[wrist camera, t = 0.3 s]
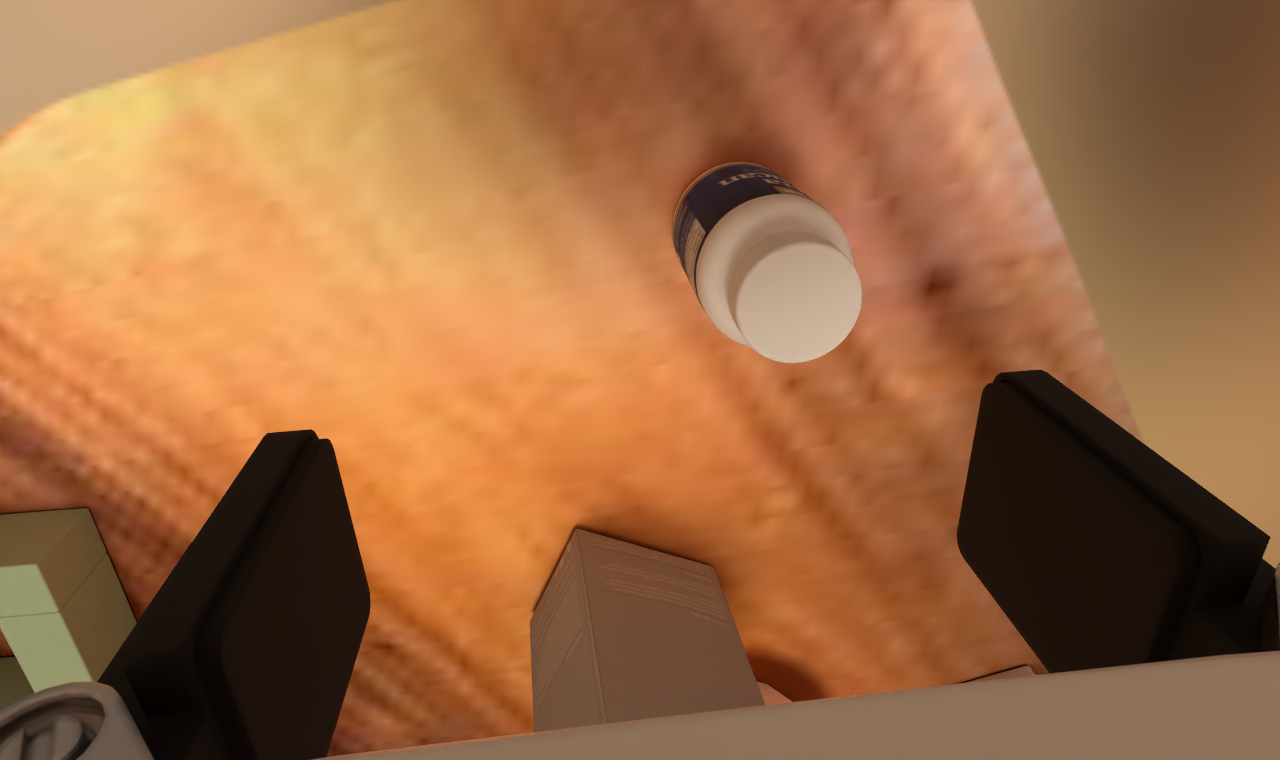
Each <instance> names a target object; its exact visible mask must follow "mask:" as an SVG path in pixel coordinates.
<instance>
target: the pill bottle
mask: <svg viewBox="0 0 1280 760" xmlns="http://www.w3.org/2000/svg"><path fill="white" fill-rule="evenodd" d="M672 236H673V243H674V247H675V250H676V253H677V256H678V258H679V261H680V263H681V265H682V267H683V269H684V271H685V273H686V275H687V277H688V279H689V281H690V283H691V286H692V288H693V290H694V292H695V294H696V296H697V298H698V300H699V302H700V304H701V306H702V308H703V310H704V311H705V313H706V314H707V316H708V318H709V319H710V321H711V322H712V323H713V324H714V326H715V327H716V328H717V329H718V330H719V331H720V332H722V333H723V334H724V335H725V336H727V337H728V338H730V339H732V340H734V341H735V342H737V343H740V344H742V345H745V346H749V347H752V348H753V349H754V350H755V351H756V352H758V353H759V354H761V355H762V356H764V357H766V358H768V359H771V360H774V361H778V362H784V363H800V362H806V361H810V360H813V359H816V358H818V357H821V356H823V355H824V354H826V353H828V352H830V351H831V350H833V349H834V348H835V347H836V346H838V345H839V344H840V343H841V342H842V341H843V340H844V339H845V338H846V337H847V335H848V334H849V333H850V331H851V330H852V328H853V326H854V325H855V323H856V321H857V318H858V315H859V312H860V309H861V303H862V287H861V282H860V278H859V275H858V273H857V270H856V269H855V267H854V265H853V259H852V252H851V248H850V244H849V242H848V239H847V237H846V235H845V233H844V231H843V229H842V228H841V226H840V225H839V223H838V222H837V221H836V220H835V218H834V217H833V216H832V215H831V214H830V213H828V212H827V211H826V210H825V209H824V208H823V207H822V206H820V205H819V204H818V203H816V202H815V201H814V200H813V199H811V198H810V197H809V196H807V195H806V194H805V193H803V192H802V191H801V190H799V189H798V188H797V187H795V186H794V185H792V184H791V183H789V182H788V181H787V180H785V179H784V178H783V177H781V176H780V175H779V174H777V173H776V172H774V171H772V170H771V169H768V168H766V167H764V166H761V165H758V164H755V163H749V162H731V163H726V164H722V165H719V166H716V167H713V168H711V169H709V170H708V171H706V172H704V173H703V174H701V175H700V176H699V177H697V178H696V179H695V180H694V181H693V182H692V183H691V184H690V185H689V186H688V187H687V189H686V190H685V191H684V193H683V194H682V196H681V198H680V200H679V202H678V204H677V207H676V210H675V213H674V218H673V224H672Z"/></svg>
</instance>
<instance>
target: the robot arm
mask: <svg viewBox="0 0 1280 760" xmlns="http://www.w3.org/2000/svg"><path fill="white" fill-rule="evenodd" d="M1269 539H1270V536H1268V535H1267V534H1265V533H1264V532H1263V531H1262V530H1260V529H1259V528H1257V527H1256V526H1255V525H1253V524H1252V523H1251V522H1249V521H1248V520H1247V519H1245V518H1244V517H1243V516H1241V515H1240V514H1238V513H1237V512H1236V511H1234V510H1233V509H1232V508H1230V507H1229V506H1228V505H1226V504H1225V503H1224V502H1222V501H1221V500H1219V499H1218V498H1217V497H1215V496H1214V495H1213V494H1211V493H1210V492H1209V491H1207V490H1206V489H1205V488H1203V487H1202V486H1200V485H1199V484H1198V483H1196V482H1195V481H1194V480H1192V479H1191V478H1190V477H1188V476H1187V475H1185V474H1184V473H1183V472H1181V471H1180V470H1179V469H1177V468H1176V467H1175V466H1173V465H1172V464H1170V463H1169V462H1168V461H1166V460H1165V459H1164V458H1162V457H1161V456H1160V455H1158V454H1157V453H1156V452H1154V451H1153V450H1151V449H1150V448H1149V447H1147V446H1146V445H1145V444H1143V443H1142V442H1141V441H1139V440H1138V439H1137V438H1135V437H1134V436H1133V435H1131V434H1130V433H1128V432H1127V431H1126V430H1124V429H1123V428H1122V427H1120V426H1119V425H1118V424H1116V423H1115V422H1113V421H1112V420H1111V419H1109V418H1108V417H1107V416H1105V415H1104V414H1103V413H1101V412H1100V411H1099V410H1097V409H1096V408H1094V407H1093V406H1092V405H1090V404H1089V403H1088V402H1086V401H1085V400H1084V399H1082V398H1081V397H1080V396H1078V395H1077V394H1075V393H1074V392H1073V391H1071V390H1070V389H1069V388H1067V387H1066V386H1065V385H1063V384H1062V383H1061V382H1059V381H1058V380H1056V379H1055V378H1054V377H1052V376H1051V375H1050V374H1048V373H1047V372H1045V371H1043V370H1029V371H1017V372H1005V373H1000V374H999V375H997V376H996V378H995V379H994V381H993V383H989V384H988V385H986V386H985V388H984V389H983V392H982V396H981V402H980V407H979V413H978V419H977V424H976V430H975V435H974V441H973V446H972V452H971V457H970V463H969V469H968V474H967V480H966V485H965V491H964V496H963V502H962V507H961V513H960V519H959V524H958V530H957V542H958V546H959V550H960V552H961V554H962V556H963V558H964V559H965V561H966V562H967V563H968V565H969V566H970V567H971V569H972V570H973V571H974V573H975V574H976V575H977V577H978V578H979V579H980V581H981V582H982V583H983V585H984V586H985V587H986V589H987V590H988V591H989V593H990V594H991V595H992V597H993V598H994V599H995V601H996V602H997V603H998V605H999V606H1000V607H1001V609H1002V610H1003V611H1004V613H1005V614H1006V615H1007V617H1008V618H1009V619H1010V621H1011V622H1012V623H1013V625H1014V626H1015V627H1016V629H1017V630H1018V631H1019V633H1020V634H1021V635H1022V637H1023V638H1024V639H1025V641H1026V642H1027V643H1028V645H1029V646H1030V647H1031V649H1032V650H1033V651H1034V653H1035V654H1036V655H1037V657H1038V658H1039V659H1040V661H1041V662H1042V663H1043V665H1044V666H1045V668H1046V669H1047V670H1048V672H1049V673H1050V674H1042V675H1032V676H1023V677H1014V678H1005V679H995V680H986V681H977V682H968V683H959V684H950V685H941V686H931V687H922V688H913V689H904V690H895V691H887V692H878V693H869V694H860V695H851V696H842V697H833V698H824V699H815V700H806V701H798V702H789V703H780V704H771V705H763V706H754V707H745V708H736V709H728V710H719V711H710V712H701V713H693V714H684V715H675V716H666V717H658V718H649V719H641V720H633V721H624V722H616V723H607V724H599V725H590V726H582V727H573V728H565V729H557V730H548V731H540V732H531V733H523V734H515V735H506V736H498V737H489V738H481V739H473V740H464V741H456V742H447V743H439V744H430V745H422V746H414V747H405V748H397V749H388V750H380V751H372V752H363V753H355V754H346V755H339V756H332V757H326V756H327V753H328V750H329V746H330V743H331V740H332V737H333V733H334V730H335V727H336V723H337V720H338V717H339V713H340V710H341V707H342V704H343V700H344V697H345V694H346V690H347V687H348V684H349V681H350V677H351V674H352V671H353V667H354V664H355V661H356V657H357V654H358V651H359V648H360V644H361V641H362V638H363V634H364V631H365V628H366V624H367V621H368V618H369V613H370V592H369V587H368V583H367V579H366V575H365V571H364V567H363V563H362V559H361V555H360V551H359V547H358V543H357V539H356V535H355V531H354V527H353V523H352V519H351V515H350V511H349V508H348V504H347V500H346V496H345V492H344V488H343V484H342V480H341V476H340V472H339V468H338V464H337V460H336V456H335V452H334V448H333V445H332V443H331V441H330V440H329V439H318V436H317V435H316V433H315V432H314V431H313V430H299V431H287V432H275V433H267V434H266V435H265V436H264V437H263V439H262V440H261V442H260V443H259V445H258V446H257V448H256V449H255V451H254V452H253V453H252V455H251V456H250V458H249V459H248V461H247V462H246V464H245V465H244V467H243V468H242V470H241V471H240V473H239V474H238V476H237V477H236V479H235V480H234V482H233V483H232V484H231V486H230V487H229V489H228V490H227V492H226V493H225V495H224V496H223V498H222V499H221V501H220V502H219V504H218V505H217V507H216V508H215V510H214V511H213V513H212V514H211V516H210V517H209V518H208V520H207V521H206V523H205V524H204V526H203V527H202V529H201V530H200V532H199V533H198V535H197V536H196V538H195V539H194V541H193V542H192V543H191V544H190V545H189V547H188V548H187V550H186V551H185V553H184V554H183V556H182V557H181V559H180V560H179V562H178V563H177V565H176V566H175V568H174V569H173V571H172V572H171V574H170V575H169V576H168V578H167V579H166V581H165V582H164V584H163V585H162V587H161V588H160V590H159V591H158V593H157V594H156V596H155V597H154V599H153V600H152V602H151V603H150V604H149V606H148V607H147V609H146V610H145V612H144V613H143V615H142V616H141V618H140V619H139V621H138V622H137V624H136V625H135V627H134V628H133V630H132V631H131V632H130V634H129V635H128V637H127V638H126V640H125V641H124V643H123V644H122V646H121V647H120V649H119V650H118V652H117V653H116V655H115V656H114V658H113V659H112V661H111V662H110V663H109V665H108V666H107V668H106V669H105V671H104V672H103V674H102V675H101V677H100V678H99V680H98V681H97V682H95V681H88V682H70V683H66V684H62V685H58V686H54V687H50V688H46V689H43V690H41V691H39V692H36V693H34V694H31V695H29V696H27V697H24V698H22V699H20V700H17V701H16V702H14V703H12V704H11V705H9V706H7V707H5V708H4V709H2V710H0V760H1280V563H1279V564H1278V565H1277V568H1276V569H1275V568H1274V567H1272V566H1271V565H1270V564H1268V563H1267V562H1266V561H1265V560H1263V559H1262V557H1263V554H1264V552H1265V549H1266V547H1267V544H1268V542H1269Z"/></svg>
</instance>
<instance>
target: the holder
mask: <svg viewBox="0 0 1280 760" xmlns="http://www.w3.org/2000/svg"><path fill="white" fill-rule="evenodd" d="M136 624H137V622H136V620H135V617H134V615H133V613H132V610H131V608H130V606H129V603H128V601H127V598H126V596H125V594H124V591H123V589H122V587H121V584H120V582H119V580H118V577H117V575H116V573H115V570H114V568H113V565H112V563H111V561H110V558H109V556H108V554H107V553H106V549H105V547H104V544H103V542H102V540H101V537H100V535H99V532H98V530H97V528H96V525H95V523H94V521H93V518H92V516H91V514H90V511H89V509H88V508H79V509H66V510H54V511H41V512H28V513H16V514H3V515H0V629H1V630H2V632H3V634H4V636H5V638H6V640H7V642H8V644H9V645H10V647H11V649H12V651H13V653H14V655H15V657H5V658H0V710H2V709H4V708H5V707H7V706H9V705H11V704H12V703H14V702H16V701H17V700H20V699H22V698H24V697H27V696H29V695H31V694H34V693H36V692H39V691H41V690H43V689H46V688H50V687H54V686H58V685H62V684H66V683H70V682H88V681H95V682H97V681H98V680H99V678H100V677H101V675H102V674H103V672H104V671H105V669H106V668H107V666H108V665H109V663H110V662H111V661H112V659H113V658H114V656H115V655H116V653H117V652H118V650H119V649H120V647H121V646H122V644H123V643H124V641H125V640H126V638H127V637H128V635H129V634H130V632H131V631H132V630H133V628H134V627H135V625H136Z"/></svg>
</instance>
